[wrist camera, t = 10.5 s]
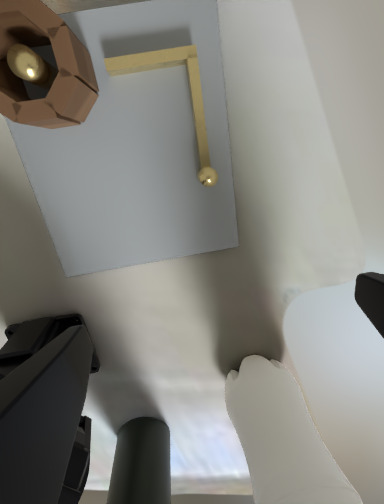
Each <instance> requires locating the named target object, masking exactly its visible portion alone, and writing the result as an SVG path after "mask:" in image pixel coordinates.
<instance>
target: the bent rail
mask: <svg viewBox="0 0 384 504" xmlns="http://www.w3.org/2000/svg"><path fill="white" fill-rule="evenodd" d="M104 62H105V67H106V71H107V72H108V74H109V75H110V76H111V77H112V76H118V75H124V74H131V73H137V72H144V71H150V70H156V69H163V68H169V67H175V66H182V65H186V70H187V77H188V84H189V92H190V99H191V107H192V114H193V121H194V129H195V136H196V144H197V151H198V158H199V166H200V168H199V169H198V171H197V179H198V180H199V181H200V182H201V183H202V184H203V185H204V186H206V187H212V186H214V185H215V184H216V183H217V181H218V173H217V171H216V170H215V169H213V168H211V165H210V157H209V149H208V140H207V132H206V124H205V115H204V107H203V99H202V90H201V82H200V74H199V65H198V57H197V49H196V45H189V46H183V47H176V48H170V49H163V50H157V51H150V52H144V53H137V54H131V55H125V56H118V57H112V58H105V59H104Z"/></svg>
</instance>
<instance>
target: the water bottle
mask: <svg viewBox="0 0 384 504" xmlns="http://www.w3.org/2000/svg"><path fill="white" fill-rule="evenodd" d="M225 402H226V408H227V412H228V415H229V417H230V419H231V421H232V423H233V425H234V427H235V430H236V432H237V434H238V437H239V439H240V442H241V445H242V448H243V450H244V454H245V457H246V461H247V464H248V468H249V472H250V476H251V481H252V488H253V495H254V504H363V503H362V500H361V498H360V495H359V494H358V493H357V491H356V490H355V489H354V487H353V486H352V485H351V483H350V482H349V480H348V479H347V478H346V476H345V475H344V473H343V472H342V470H341V469H340V468H339V466H338V465H337V463H336V462H335V460H334V458H333V457H332V455H331V454H330V452H329V451H328V449H327V447H326V445H325V444H324V442H323V440H322V438H321V437H320V435H319V433H318V431H317V429H316V427H315V425H314V423H313V421H312V419H311V416H310V414H309V412H308V409H307V407H306V404H305V401H304V398H303V394H302V391H301V388H300V386H299V384H298V383H297V381H296V379H295V378H294V376H293V375H292V374H291V373H290V371H289V370H288V369H287V368H286V367H285V366H284V365H283V364H281V363H280V362H278V361H276V360H274V359H271V360H270V361H269V360H267V359H266V358H264V357H262V356H260V355H259V356H258V355H251V356H247V357H245V358H244V359H243V361H242V363H241V366H240V369H239V372H237V371H235V370H231V371H230V372H229V373H228V376H227V379H226V384H225Z"/></svg>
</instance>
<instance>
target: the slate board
mask: <svg viewBox="0 0 384 504" xmlns="http://www.w3.org/2000/svg"><path fill="white" fill-rule="evenodd" d="M57 15H58V16H59V17H60V18H61V19H63V20H64V22H65V23H66V24H67V25H68V27H69V28H70V29H71V30H72V32H73V33H74V34H75V35H76V37H77V38H78V39H79V40H80V42H81V43H82V44H83V45H84V47H85V48H86V49H87V50H88V53H89V54H90V55H91V60H92V64H93V68H94V72H95V76H96V80H97V84H98V88H99V92H95V93H96V94H97V95H99V96H98V98H97V100H96V102H95V104H94V105H93V107H92V109H91V111H90V113H89V114H88V116H87V118H86V120H85V122H80V123H81V125H76V126H69V127H62V128H56V129H48V128H42V127H36V126H30V125H25V124H19V123H16V122H13V121H11V120H10V119H8V118H7V117H5V118H6V121H7V123H8V126H9V129H10V131H11V134H12V137H13V139H14V142H15V144H16V147H17V150H18V152H19V155H20V157H21V160H22V163H23V165H24V168H25V171H26V173H27V176H28V178H29V181H30V184H31V186H32V189H33V192H34V194H35V197H36V199H37V202H38V205H39V207H40V210H41V212H42V215H43V218H44V220H45V223H46V226H47V228H48V231H49V233H50V236H51V239H52V241H53V244H54V246H55V249H56V252H57V254H58V257H59V260H60V262H61V265H62V267H63V270H64V273H65V275H66V277H72V276H77V275H83V274H89V273H94V272H100V271H106V270H111V269H117V268H122V267H128V266H134V265H139V264H145V263H150V262H156V261H162V260H167V259H173V258H178V257H184V256H190V255H195V254H201V253H206V252H212V251H218V250H223V249H229V248H235V247H239V240H238V229H237V218H236V207H235V196H234V185H233V174H232V163H231V152H230V141H229V130H228V118H227V107H226V96H225V85H224V74H223V63H222V52H221V41H220V30H219V19H218V8H217V0H150V1H144V2H137V3H130V4H123V5H117V6H110V7H103V8H97V9H90V10H83V11H77V12H70V13H63V14H57ZM189 45H196V49H197V57H198V65H199V74H200V82H201V90H202V99H203V107H204V115H205V124H206V132H207V140H208V149H209V157H210V165H211V168H213V169H215V170H216V171H217V173H218V181H217V183H216V184H215V185H214V186H212V187H206V186H204V185H203V184H202V183H201V182H200V181H199V180H198V179H197V171H198V169H199V168H200V166H199V158H198V151H197V144H196V136H195V129H194V121H193V114H192V107H191V99H190V92H189V84H188V77H187V70H186V65H182V66H175V67H169V68H163V69H156V70H150V71H144V72H137V73H131V74H124V75H118V76H112V77H111V76H110V75H109V74H108V72H107V71H106V67H105V62H104V59H105V58H112V57H118V56H125V55H131V54H137V53H144V52H150V51H157V50H163V49H170V48H176V47H183V46H189ZM30 49H31V50H32V51H34V52H35V53H36V54H38V55H39V56H41V57H42V58H43V59H45V60H46V61H47V62H49V63H50V64H51V65H53V66H54V67H55V68H57V69H58V66H57V62H56V59H55V55H54V52H53V48H52V45H46V46H39V47H32V48H30ZM58 70H59V69H58ZM23 82H24V85H25V88H26V91H27V94H28V97H29V98H30V99H32V100H37V99H43V98H46V96H47V94H48V92H49V91H47V90H45V89H42V88H40V87H38V86H36V85H34V84H32V83H30V82H28V81H26V80H24V79H23Z"/></svg>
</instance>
